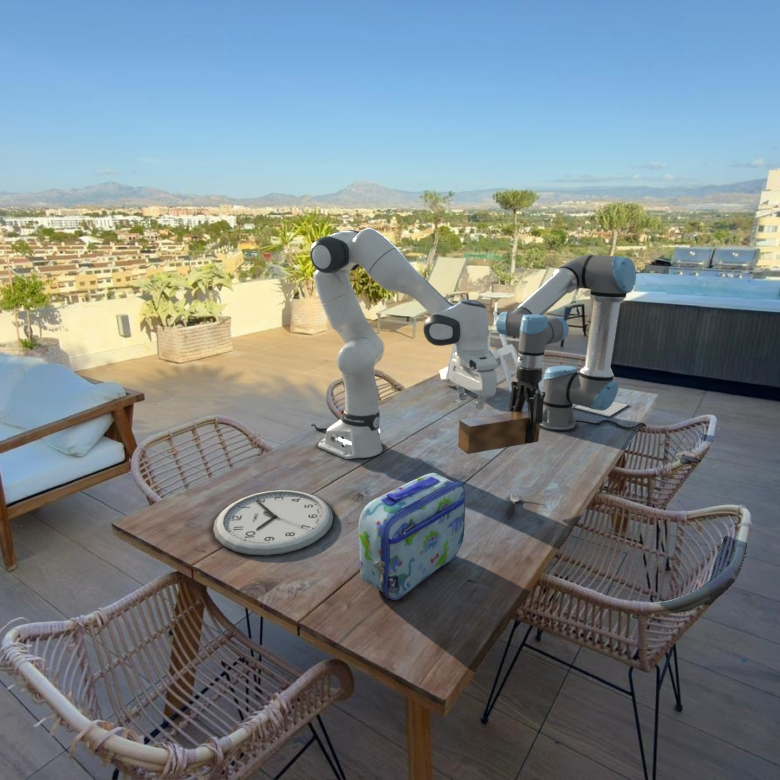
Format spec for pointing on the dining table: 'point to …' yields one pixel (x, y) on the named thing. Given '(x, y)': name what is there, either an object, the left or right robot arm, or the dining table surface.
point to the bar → (494, 432)
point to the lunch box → (410, 533)
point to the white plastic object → (499, 355)
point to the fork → (514, 499)
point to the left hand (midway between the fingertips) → (470, 403)
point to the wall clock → (273, 522)
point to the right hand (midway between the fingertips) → (522, 438)
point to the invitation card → (608, 412)
